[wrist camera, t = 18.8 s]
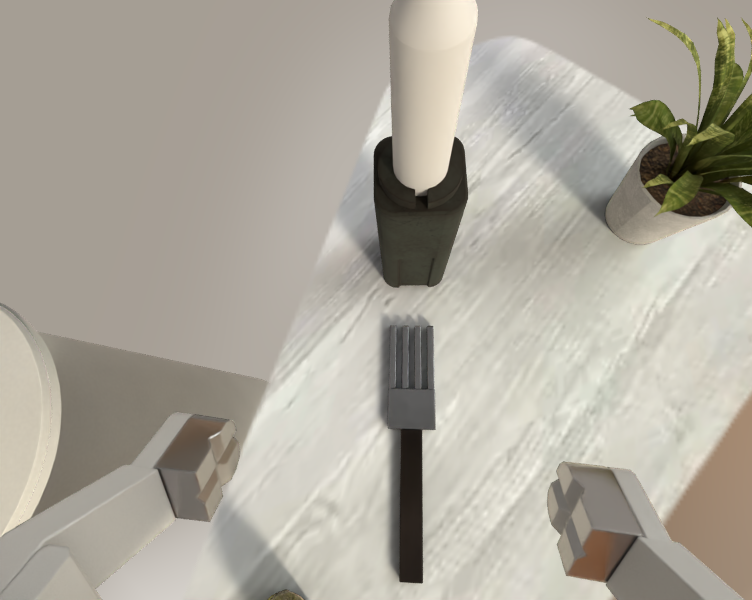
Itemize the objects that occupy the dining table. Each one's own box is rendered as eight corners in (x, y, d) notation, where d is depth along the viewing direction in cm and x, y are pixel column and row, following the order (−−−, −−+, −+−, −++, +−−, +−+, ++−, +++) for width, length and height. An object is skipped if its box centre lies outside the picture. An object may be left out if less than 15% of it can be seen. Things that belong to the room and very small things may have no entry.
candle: (440, 231, 34) (540, -204, 10) (443, 286, 32) (569, -64, 8) (383, 233, 34) (342, -185, 10) (383, 288, 33) (337, -47, 9)
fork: (385, 577, 27) (384, 581, 26) (389, 326, 32) (389, 325, 31) (436, 581, 27) (437, 584, 26) (433, 327, 31) (434, 326, 31)
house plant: (512, 253, 33) (616, 112, 17) (564, 129, 36) (692, -89, 20) (685, 321, 30) (991, 229, 15) (724, 181, 33) (1012, -19, 18)
